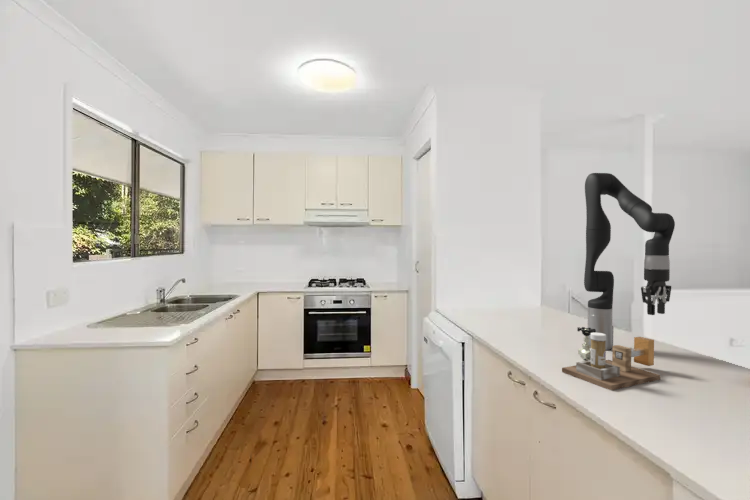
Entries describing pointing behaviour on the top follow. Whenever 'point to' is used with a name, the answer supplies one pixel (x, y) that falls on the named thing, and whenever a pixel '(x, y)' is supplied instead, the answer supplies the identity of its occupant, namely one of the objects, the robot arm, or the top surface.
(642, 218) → the robot arm
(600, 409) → the top surface
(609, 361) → the socket base
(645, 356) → the bar
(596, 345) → the spice jar
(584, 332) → the valve
